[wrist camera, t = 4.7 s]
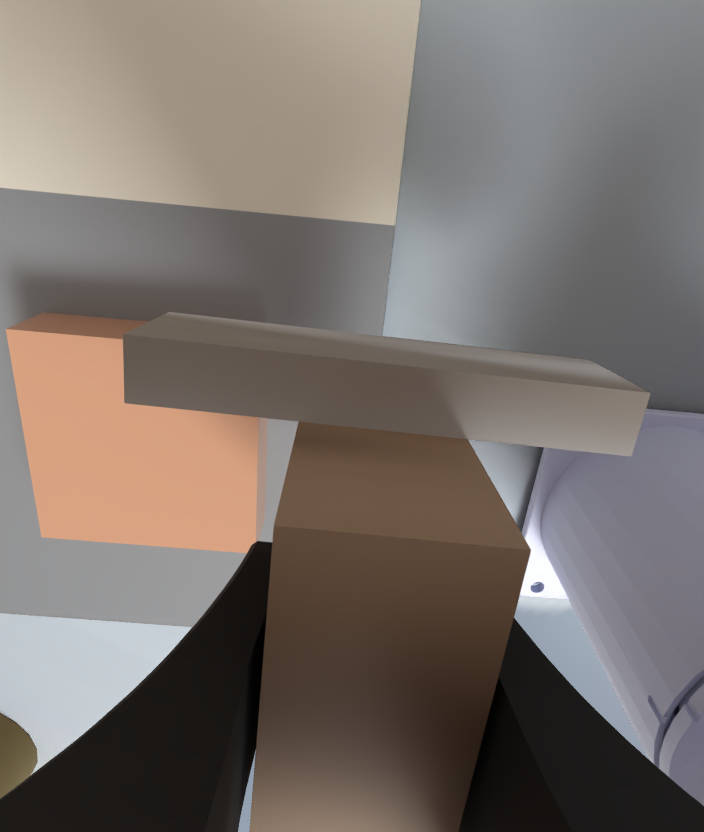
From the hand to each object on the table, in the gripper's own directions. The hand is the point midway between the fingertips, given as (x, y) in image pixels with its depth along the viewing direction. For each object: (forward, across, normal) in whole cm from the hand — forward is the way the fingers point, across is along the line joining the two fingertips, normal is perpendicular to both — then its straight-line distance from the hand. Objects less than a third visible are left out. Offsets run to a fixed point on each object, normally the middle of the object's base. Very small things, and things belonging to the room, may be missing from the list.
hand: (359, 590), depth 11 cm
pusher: (+2, 0, 0) cm, 2 cm away
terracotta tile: (+8, +6, +1) cm, 10 cm away
